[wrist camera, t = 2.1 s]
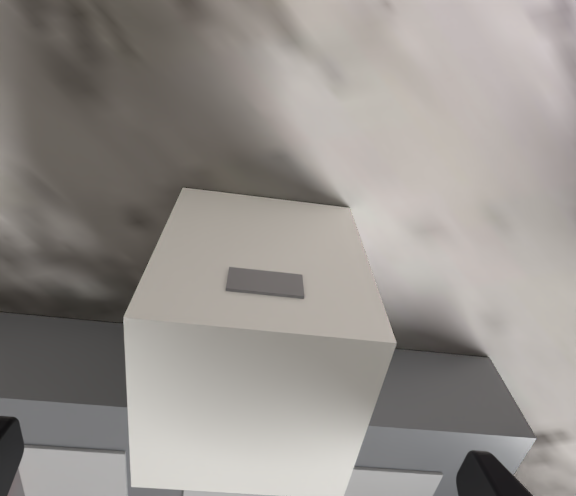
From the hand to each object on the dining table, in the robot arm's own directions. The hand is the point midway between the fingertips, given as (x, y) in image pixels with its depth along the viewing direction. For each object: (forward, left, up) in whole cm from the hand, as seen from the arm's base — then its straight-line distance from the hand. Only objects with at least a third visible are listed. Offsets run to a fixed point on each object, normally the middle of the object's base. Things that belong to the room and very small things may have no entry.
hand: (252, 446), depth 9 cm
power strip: (+3, +6, -7) cm, 9 cm away
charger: (0, +1, -6) cm, 7 cm away
